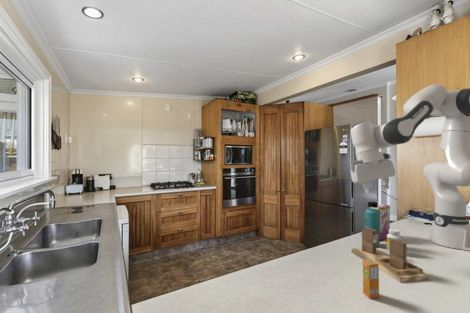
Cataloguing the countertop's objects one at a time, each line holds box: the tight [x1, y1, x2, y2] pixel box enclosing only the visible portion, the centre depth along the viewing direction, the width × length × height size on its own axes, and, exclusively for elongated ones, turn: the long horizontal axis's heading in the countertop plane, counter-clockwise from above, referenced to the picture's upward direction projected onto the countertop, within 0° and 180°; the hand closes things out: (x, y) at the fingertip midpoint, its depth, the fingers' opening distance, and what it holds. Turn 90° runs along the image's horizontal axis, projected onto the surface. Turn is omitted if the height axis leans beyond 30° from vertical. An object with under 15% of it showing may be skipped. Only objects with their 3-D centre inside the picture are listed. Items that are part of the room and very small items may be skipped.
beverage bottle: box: [364, 201, 381, 245], centre depth 108 cm, size 6×7×20 cm
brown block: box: [387, 239, 408, 270], centre depth 84 cm, size 4×5×9 cm
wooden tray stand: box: [351, 227, 429, 283], centre depth 89 cm, size 11×24×10 cm, turn 10°
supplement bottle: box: [386, 228, 403, 253], centre depth 100 cm, size 5×5×10 cm
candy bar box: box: [369, 203, 391, 241], centre depth 118 cm, size 11×5×16 cm, turn 122°
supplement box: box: [362, 259, 380, 299], centre depth 69 cm, size 3×4×10 cm
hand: (377, 190), depth 97 cm, fingers open, 8 cm apart
